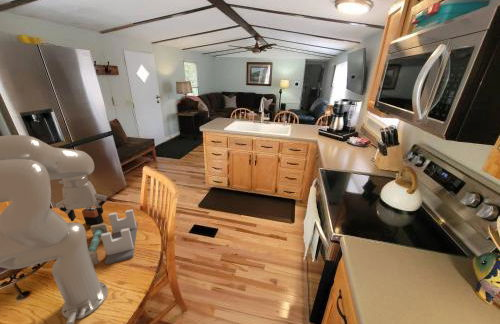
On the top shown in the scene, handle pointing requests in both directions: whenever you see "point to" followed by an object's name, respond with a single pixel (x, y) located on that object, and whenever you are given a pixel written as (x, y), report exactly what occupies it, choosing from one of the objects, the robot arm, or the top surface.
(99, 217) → the battery
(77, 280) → the robot arm
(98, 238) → the dowel bar
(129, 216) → the stand
